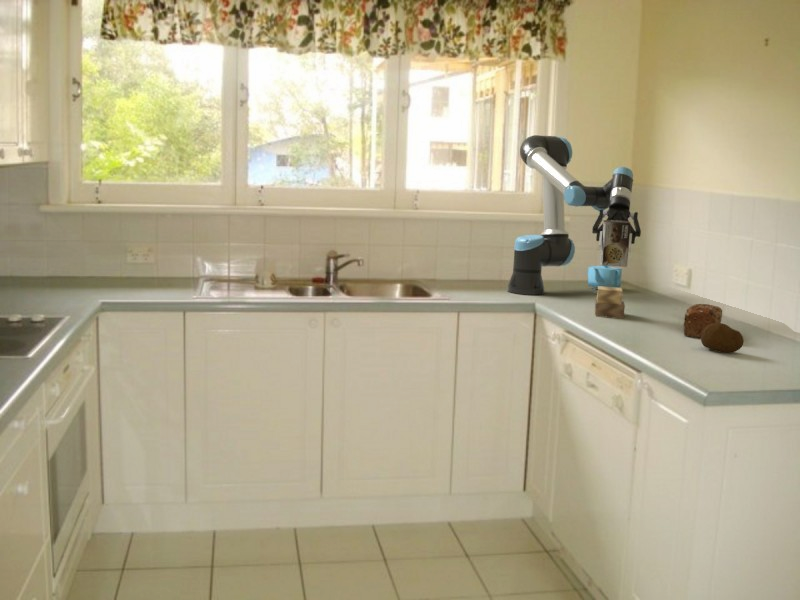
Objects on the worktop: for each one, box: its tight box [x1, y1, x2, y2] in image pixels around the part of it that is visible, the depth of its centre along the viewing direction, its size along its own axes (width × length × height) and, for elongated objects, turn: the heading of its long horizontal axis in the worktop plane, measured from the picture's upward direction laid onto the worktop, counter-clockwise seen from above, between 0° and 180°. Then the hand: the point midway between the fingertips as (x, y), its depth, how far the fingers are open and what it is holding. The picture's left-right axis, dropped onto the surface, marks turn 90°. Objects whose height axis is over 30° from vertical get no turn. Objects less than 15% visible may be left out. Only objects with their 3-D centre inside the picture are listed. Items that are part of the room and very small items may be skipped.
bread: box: [683, 303, 723, 339], centre depth 297 cm, size 19×11×10 cm, turn 154°
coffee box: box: [599, 219, 632, 268], centre depth 320 cm, size 9×6×16 cm
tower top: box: [596, 286, 623, 305], centre depth 324 cm, size 8×8×5 cm
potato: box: [700, 322, 745, 354], centre depth 270 cm, size 8×12×9 cm
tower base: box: [594, 298, 626, 319], centre depth 324 cm, size 10×10×5 cm
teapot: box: [587, 265, 623, 290], centre depth 385 cm, size 16×18×11 cm
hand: (614, 248), depth 318 cm, fingers closed on coffee box, 10 cm apart
